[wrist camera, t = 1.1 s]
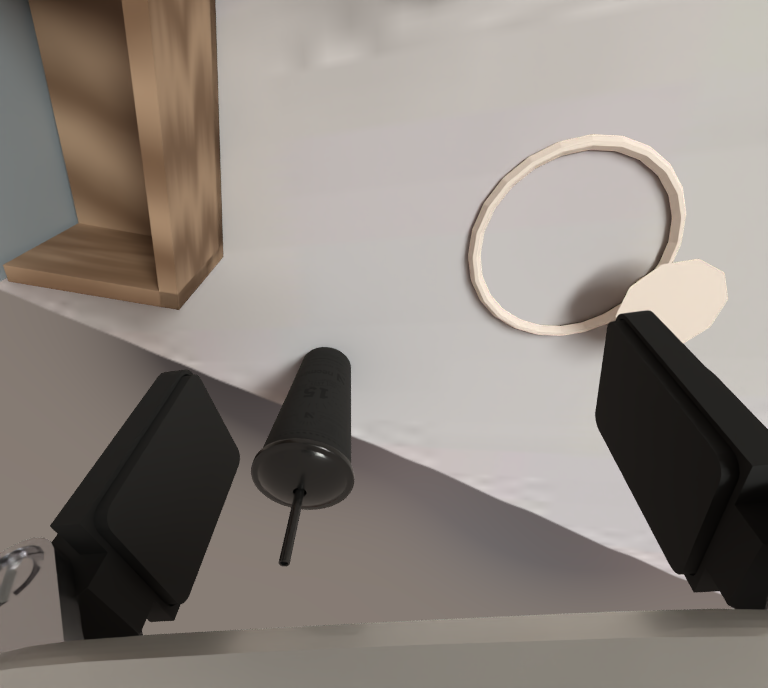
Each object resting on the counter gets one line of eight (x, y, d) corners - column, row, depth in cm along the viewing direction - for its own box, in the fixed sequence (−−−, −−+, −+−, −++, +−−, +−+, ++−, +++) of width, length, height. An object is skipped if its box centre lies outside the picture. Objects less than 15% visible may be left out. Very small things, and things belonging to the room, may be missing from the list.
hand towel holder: (570, 92, 26) (808, 234, 30) (549, 87, 29) (764, 215, 34) (434, 313, 35) (634, 398, 39) (430, 288, 38) (613, 368, 43)
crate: (17, -102, 25) (-148, -166, 17) (213, -55, 25) (138, -97, 18) (88, 232, 36) (8, 281, 28) (223, 256, 37) (179, 309, 29)
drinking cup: (371, 391, 45) (355, 591, 28) (300, 398, 46) (245, 596, 29) (357, 330, 41) (331, 523, 24) (279, 339, 41) (202, 532, 25)
